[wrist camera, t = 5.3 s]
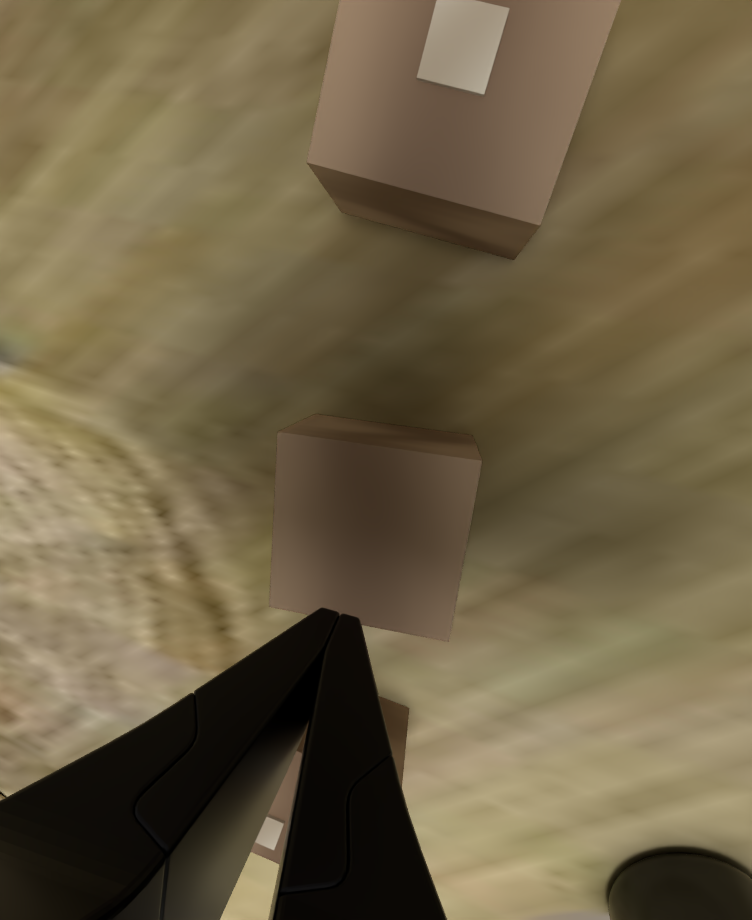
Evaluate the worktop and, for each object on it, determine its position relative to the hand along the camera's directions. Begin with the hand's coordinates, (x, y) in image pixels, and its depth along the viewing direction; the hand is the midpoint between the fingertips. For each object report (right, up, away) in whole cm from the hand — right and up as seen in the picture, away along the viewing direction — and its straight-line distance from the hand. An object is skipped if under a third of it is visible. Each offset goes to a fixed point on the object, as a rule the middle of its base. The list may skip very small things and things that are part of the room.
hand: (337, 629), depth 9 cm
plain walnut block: (+1, +2, +8) cm, 8 cm away
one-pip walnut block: (+3, +14, +5) cm, 15 cm away
